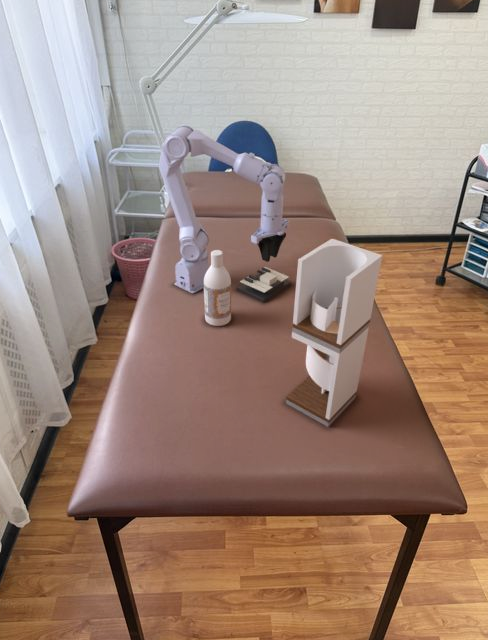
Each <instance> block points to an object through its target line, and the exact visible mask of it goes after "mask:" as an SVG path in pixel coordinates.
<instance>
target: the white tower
mask: <svg viewBox="0 0 488 640" xmlns="http://www.w3.org/2000/svg"><path fill="white" fill-rule="evenodd" d="M297 259H298V260H297V272H296V279H295V280H296V281H295V294H294V306H293V317H292V326H291V327H292V330H291V338H292V339H294V340H296V341H298V342H301V343H302V344H305V345H306V354H305V367H306V371H307V373H308V375H309V376H308V377H306V378H305V379H304V380H303V381H302V382H301V383H300V384H299V385H297V386H296V387H295V388H294V389H293V390H292V391H290V393H289V394H288V395H287V396H286V399H285V404H286V405H288V406H289V407H292V408H293V409H295V410H297V411H299V412H300V413H302V414H304V415H305V416H308V417H309V418H311V419H313V420H315V421H316V422H318V423H321V424H322V425H323V426H325V427H327V428H328V427H330V426H331V424H333V423H334V422H335V421H336V419H338V417H339V416H340V415H341V414H342V413H343V412H344V411H345V410H346V408H348V407H349V405H351V404H352V402H353V401H354V400H355V399H356V398H357V392H358V387H359V381H360V377H361V370H362V367H363V361H364V355H365V351H366V344H367V339H368V334H369V329H370V323H371V318H372V313H373V308H374V303H375V302H374V301H375V298H376V293H377V286H378V282H379V277H380V272H381V265H382V260H383V255H382V254H379V253H377V252H374V251H371V250H368V249H366V248H362V247H358V246H356V245H353V244H351V243H347V242H344V241H341V240H338V239H335V238H331V239H328V240H327V241H326V242H324V243H322V244H320V245H319V246H317V247H316V248H314V249H313V250H311V251H310V252H308V253H305V254H304V255H303V256H301V257H299V258H297Z"/></svg>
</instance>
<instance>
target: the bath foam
mask: <svg viewBox="0 0 488 640" xmlns="http://www.w3.org/2000/svg"><path fill="white" fill-rule="evenodd" d="M203 300H204V301H203V303H204V304H203V305H204V320H205V322H206V323H207V324H209V325H210V326H214V327H222V326H226V325H228V324H229V323H230V321H232V280H231V275H230V272H229V271H228V270H227V268H226V267H225V266H224V253H223V251H222V250H220V249H214V250H212V251H210V266H208V270H207V272H206V274H205V277H204V288H203Z"/></svg>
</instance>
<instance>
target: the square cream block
mask: <svg viewBox="0 0 488 640" xmlns="http://www.w3.org/2000/svg"><path fill="white" fill-rule="evenodd" d="M260 282H262V283H264V284H267V285H269V286H271V285H272V284H274V283H276V282H277V276H276V275H274V274H271V273H269V272H267V273H265V274H263V275H262V276H260Z"/></svg>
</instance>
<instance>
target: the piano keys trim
mask: <svg viewBox="0 0 488 640" xmlns="http://www.w3.org/2000/svg"><path fill="white" fill-rule="evenodd" d="M256 272H257V273H258V274H265V273H267V272H269V273H271V274H274V275H276V276H277V280H278V281H280V282H282V281H284V280H288V279H289V278H290V276H289V275H286V274H284V273H281V272H279V271H276V270H274V269H271V268H269V267H266V266H263V267H261V268H260V269H257V271H256ZM255 276H256V275H255ZM255 276H254V275H252V274H249V275H248V276H246V277H244V278H243V279H241V280H240V281H239V283H241V284H243V283H244V284H246V285H248V286H250V287H253V288H255V289H257V290H259V291H262V292H264V293H265V292H266V291H268V290H270V289H271V288H273V287H271V286H269V285H267V284H264V283H262V282H260V281H257V279H258V278H257V277H255ZM258 285H259V286H258ZM267 289H268V290H267Z"/></svg>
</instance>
